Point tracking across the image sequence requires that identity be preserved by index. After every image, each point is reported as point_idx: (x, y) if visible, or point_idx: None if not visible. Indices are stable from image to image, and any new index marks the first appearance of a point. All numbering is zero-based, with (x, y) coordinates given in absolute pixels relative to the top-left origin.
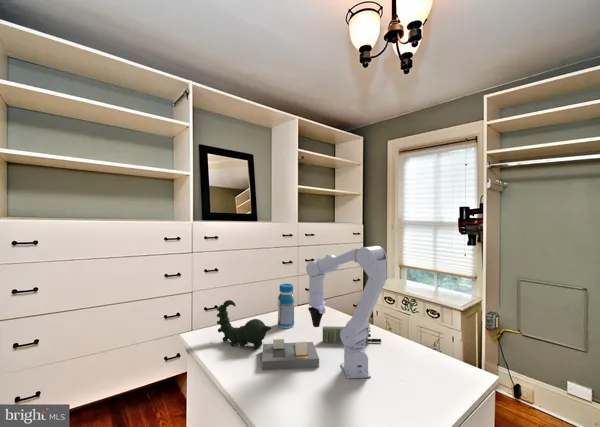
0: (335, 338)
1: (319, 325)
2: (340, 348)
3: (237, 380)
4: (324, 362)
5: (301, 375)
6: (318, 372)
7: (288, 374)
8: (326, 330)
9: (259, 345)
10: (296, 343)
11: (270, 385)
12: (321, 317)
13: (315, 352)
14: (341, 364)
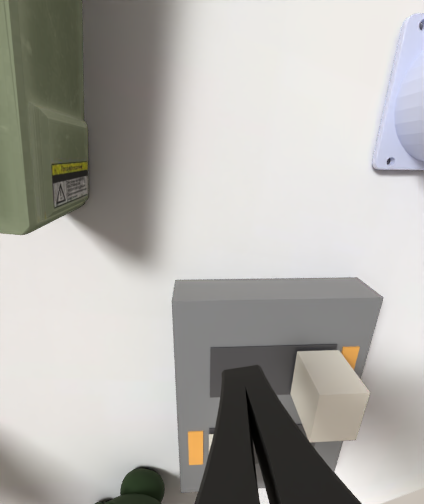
0: (69, 114)
1: (262, 373)
2: (172, 105)
3: (352, 491)
4: (322, 245)
5: (391, 346)
6: (395, 286)
7: (368, 384)
8: (47, 201)
9: (159, 483)
10: (327, 437)
11: (409, 427)
12: (337, 477)
13: (312, 305)
14: (392, 168)
